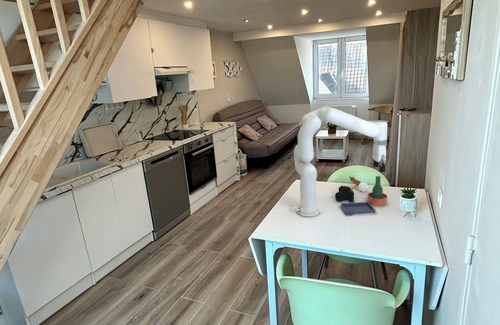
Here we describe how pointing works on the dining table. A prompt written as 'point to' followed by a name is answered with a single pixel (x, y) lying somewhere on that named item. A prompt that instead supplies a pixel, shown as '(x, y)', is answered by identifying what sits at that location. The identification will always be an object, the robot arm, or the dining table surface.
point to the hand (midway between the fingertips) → (379, 169)
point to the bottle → (377, 189)
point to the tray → (357, 208)
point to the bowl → (377, 200)
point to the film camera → (344, 194)
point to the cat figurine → (359, 184)
